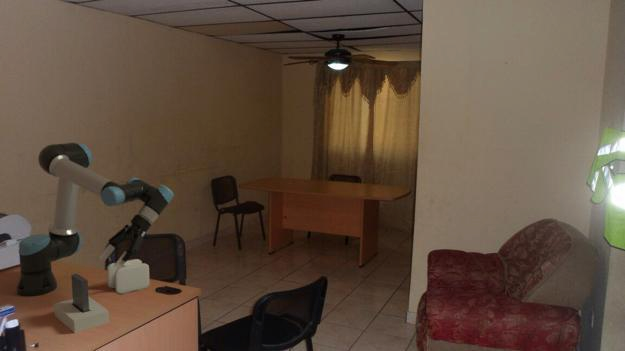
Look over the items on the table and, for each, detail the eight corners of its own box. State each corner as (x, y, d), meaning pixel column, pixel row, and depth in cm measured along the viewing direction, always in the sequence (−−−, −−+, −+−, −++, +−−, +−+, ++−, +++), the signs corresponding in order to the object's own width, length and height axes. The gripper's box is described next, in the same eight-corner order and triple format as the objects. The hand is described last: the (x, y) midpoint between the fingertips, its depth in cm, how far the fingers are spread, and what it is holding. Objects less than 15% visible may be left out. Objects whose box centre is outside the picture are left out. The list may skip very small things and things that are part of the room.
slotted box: (54, 318, 177) (53, 303, 176) (87, 309, 186) (86, 295, 185) (75, 337, 163) (74, 320, 163) (109, 326, 172) (108, 310, 171)
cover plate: (73, 315, 177) (71, 274, 175) (79, 313, 178) (77, 273, 176) (84, 323, 170) (81, 281, 168) (89, 322, 172) (87, 280, 169)
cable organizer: (115, 296, 199) (114, 270, 197) (107, 288, 207) (106, 263, 205) (149, 288, 209) (149, 263, 207) (141, 281, 217) (140, 257, 215)
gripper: (166, 230, 182) (130, 276, 173) (136, 219, 199) (102, 261, 190) (153, 218, 177) (116, 266, 169) (123, 209, 194) (88, 251, 185)
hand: (108, 263), depth 179 cm, fingers open, 13 cm apart
